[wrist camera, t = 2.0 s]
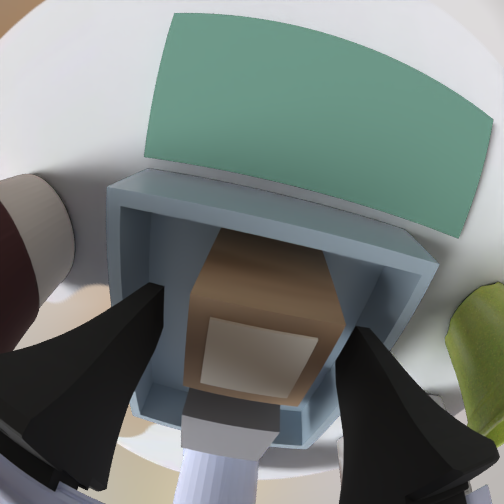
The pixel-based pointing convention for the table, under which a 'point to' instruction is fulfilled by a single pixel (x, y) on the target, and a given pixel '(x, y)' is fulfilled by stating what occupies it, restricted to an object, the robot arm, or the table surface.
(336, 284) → the bin
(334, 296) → the labelled block
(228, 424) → the plain block
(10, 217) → the coffee cup
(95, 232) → the table surface
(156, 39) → the table surface
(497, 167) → the table surface
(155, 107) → the mat
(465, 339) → the plant pot
